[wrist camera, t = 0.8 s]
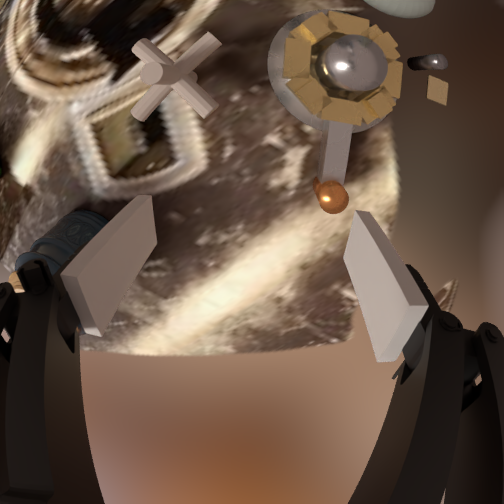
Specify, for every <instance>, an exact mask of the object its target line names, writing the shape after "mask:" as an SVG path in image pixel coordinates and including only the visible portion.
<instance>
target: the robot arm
mask: <svg viewBox="0 0 504 504" xmlns="http://www.w3.org/2000/svg"><path fill="white" fill-rule="evenodd" d="M156 244H157V238H156V231H155V223H154V214H153V205H152V195H137V196H136V197H135V198H134V199H133V200H132V201H131V202H130V203H129V204H127V205H126V206H125V207H124V208H123V209H122V210H121V211H120V212H119V213H118V214H117V215H116V216H115V217H114V218H113V219H112V220H111V221H110V222H109V223H108V224H107V225H106V226H104V227H103V228H102V229H101V230H100V232H99V233H98V234H97V235H96V236H95V237H94V238H93V239H92V240H89V241H87V242H86V243H84V244H82V245H81V246H79V247H78V249H77V250H76V251H75V252H74V253H73V255H71V256H70V257H69V258H68V261H67V260H66V261H65V263H64V264H63V265H62V266H61V267H60V268H59V269H58V270H57V272H56V273H55V274H54V275H53V276H52V274H51V272H50V269H49V266H48V264H47V261H46V260H45V259H42V258H36V259H33V260H30V261H28V262H26V263H25V264H23V265H22V266H21V267H20V268H19V269H18V271H17V272H16V274H17V276H18V278H19V280H20V283H21V285H22V287H23V289H24V291H25V292H19V293H16V292H15V290H14V288H13V286H12V284H11V283H9V282H5V283H1V284H0V504H105V503H104V500H103V497H102V493H101V490H100V487H99V483H98V479H97V476H96V472H95V468H94V463H93V459H92V455H91V450H90V445H89V440H88V434H87V428H86V422H85V414H84V407H83V397H82V386H81V372H80V345H79V334H78V331H77V329H76V328H77V327H78V325H79V324H80V322H81V324H82V326H83V328H84V330H85V332H86V333H88V334H92V335H96V336H100V337H102V335H103V334H104V332H105V330H106V328H107V326H108V324H109V322H110V321H111V319H112V317H113V315H114V313H115V312H116V310H117V308H118V306H119V305H120V303H121V301H122V299H123V298H124V296H125V294H126V293H127V291H128V289H129V288H130V286H131V284H132V283H133V281H134V279H135V278H136V276H137V274H138V273H139V271H140V270H141V268H142V266H143V265H144V263H145V262H146V260H147V258H148V257H149V255H150V254H151V252H152V251H153V249H154V248H155V246H156ZM343 258H344V261H345V264H346V267H347V269H348V272H349V275H350V278H351V280H352V283H353V286H354V289H355V292H356V295H357V298H358V301H359V304H360V307H361V310H362V313H363V316H364V319H365V323H366V326H367V329H368V332H369V335H370V339H371V342H372V346H373V349H374V353H375V356H376V360H377V362H390V361H396V359H397V358H398V356H399V355H400V353H401V352H402V351H403V354H404V357H405V360H404V361H403V363H402V364H401V366H400V367H399V368H398V370H397V371H396V372H395V374H394V375H393V377H392V379H395V378H396V377H397V375H398V378H397V382H396V385H395V389H394V392H393V396H392V399H391V402H390V406H389V409H388V412H387V415H386V418H385V421H384V423H383V426H382V429H381V432H380V434H379V437H378V440H377V442H376V445H375V447H374V450H373V452H372V454H371V457H370V459H369V461H368V464H367V466H366V468H365V471H364V473H363V475H362V477H361V479H360V481H359V483H358V485H357V487H356V489H355V491H354V493H353V495H352V497H351V499H350V500H349V502H348V504H440V503H441V500H442V497H443V494H444V491H445V499H444V504H504V337H503V335H502V333H501V332H500V330H499V329H498V328H497V327H496V326H495V325H493V324H491V323H488V322H483V323H482V324H481V325H480V326H479V328H478V329H477V330H476V332H474V331H471V330H467V329H463V326H462V324H461V322H460V320H459V319H457V317H455V316H454V315H453V314H451V313H449V312H446V311H441V309H440V307H439V305H438V303H437V302H436V300H435V298H434V297H433V295H432V293H431V292H430V290H429V289H428V287H427V285H426V283H425V282H424V280H423V279H422V277H421V276H420V274H419V272H418V271H417V270H415V269H414V268H413V267H412V266H411V265H408V264H404V262H403V261H402V259H401V257H400V256H399V254H398V253H397V251H396V250H395V248H394V247H393V245H392V244H391V242H390V241H389V239H388V238H387V236H386V235H385V233H384V232H383V230H382V229H381V228H380V226H379V225H378V223H377V222H376V220H375V219H374V218H373V216H372V215H371V213H370V212H366V211H358V210H355V213H354V217H353V222H352V226H351V230H350V234H349V238H348V242H347V246H346V250H345V254H344V257H343ZM3 329H4V330H5V331H6V333H7V334H8V336H9V337H10V339H9V341H8V342H6V341H5V340H4V338H3V337H2V336H1V333H2V331H3ZM480 374H481V378H482V381H481V382H480V383H479V384H478V385H477V386H476V384H475V379H476V378H477V377H478V376H479V375H480ZM445 488H446V490H445Z"/></svg>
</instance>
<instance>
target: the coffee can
mask: <svg viewBox="0 0 504 504" xmlns="http://www.w3.org/2000/svg"><path fill="white" fill-rule="evenodd" d="M9 1H10V0H0V15H1V13H2V12H3V11H4V9H5V7H6V6H7V4H8V2H9Z"/></svg>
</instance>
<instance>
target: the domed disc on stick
mask: <svg viewBox="0 0 504 504" xmlns="http://www.w3.org/2000/svg"><path fill="white" fill-rule="evenodd" d="M352 34H355V35H361V36H364V37H367V38H369V39H371V40H372V41H374V42H375V43H376V44H377V45H378V46H379V47H380V48H381V49H382V51H383V52H384V54H385V56H386V59H387V63H388V72H387V76H386V78H385V80H384V81H383V83H382V84H381V85H379V86H378V87H376V88H374V89H372V90H366V91H364V92H363V93H361V94H360V95H358V96H357V97H356V98H354V99H353V100H351V101H349V100H344V99H338V98H333V97H329V96H328V95H327V94H326V93H327V92H326V91H325V89H324V88H323V87H322V86H321V85H320V83H319V82H318V81H317V80H316V79H315V78H313V77H312V76H311V75H310V74H309V71H310V57H311V48H312V47H314V46H315V45H317V44H318V43H320V42H321V41H323V40H324V39H326V38H327V37H329V38H335V39H339V38H341V37H343V36H346V35H352ZM397 46H398V44H397V43H396V42H395V41H394V39H393V38H392V36H391V35H390V34H389V33H388V32H385V33H383V32H382V31H381V30H380V29H379V28H378V26H377V25H376V24H375V25H374V26H372V27H370V28H369V20H367V19H364V18H360V17H356V16H352V15H348V14H343V13H339V12H334V11H328V12H327V14H326V15H325V14H324V13H323V12H320V13H318V14H317V15H316V14H315V15H313V16H312V17H310V18H309V19H307V20H305V21H304V22H302V23H301V25H299V26H298V27H296V28H295V29H293V30H292V31H290V32H289V35H288V38H286V40H285V43H284V58H283V73H282V78H284V79H291V80H290V81H288V82H287V83H286V84H285V86H286V87H287V88H288V89H289V90H290V91H291V92H292V93H293V95H294V96H295V97H296V98H297V99H298V100H299V101H300V102H301V104H302V105H303V106H304V107H305V108H306V109H307V111H308V112H309V113H310V114H312V115H315V114H316V117H318V118H320V119H324V122H323V131H322V140H321V148H320V156H319V163H318V171H317V176H316V177H315V179H314V181H313V189H314V192H315V194H316V196H317V199H318V201H319V203H320V206H321V208H322V209H323V210H324V211H325V212H327V213H330V214H337V213H340V212H342V211H343V210H344V209H345V208H346V207H347V205H348V202H349V196H348V193H347V192H346V190H345V189H344V187H343V185H344V179H345V174H346V168H347V161H348V155H349V149H350V142H351V135H352V127H353V125H358V126H361V122H362V123H365V124H367V125H368V124H369V123H371V122H372V121H373V120H375V119H376V118H379V119H381V118H382V117H384V116H385V115H387V114H388V113H390V112H391V111H392V110H393V109H392V107H393V106H395V105H396V103H395V101H394V99H393V98H398V99H399V98H400V91H401V81H402V69H403V63H402V62H398V61H396V59H397V58H399V57H400V54H399V53H398V52H397V51H396V49H395V47H397Z"/></svg>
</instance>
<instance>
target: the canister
mask: <svg viewBox="0 0 504 504" xmlns="http://www.w3.org/2000/svg"><path fill="white" fill-rule="evenodd" d="M108 223H109V221H108V220H106V219H105V218H104V217H102V216H101V215H99V214H97V213H95V212H92V211H88V210H77V211H74V212H72V213H69V214H67V215H65V216H64V217H63V218H62V219H60V220H59V221H58V222H57V224H56V225H55V226H54V227H53V228H52V229H50V230H49V231H48V232H47V233H46V234H45V235H44V236H42V237H41V238H39V239H38V240H36V241H35V242H34V243H33V245H32V246H31V248H30V252H25V253H23V254H21V255H20V256H19V257H18V258H17V260H16V263H15V271H14V272H13V273H12V274H11V275H10V277H9V283H11V284H12V286H13V288H14V290H15V292H16V293H19V292H25V291H24V289H23V287H22V285H21V283H20V280H19V278H18V276H17V274H16V272H17V271H18V269H19V268H20V267H21V266H22V265H23V264H25V263H26V262H28V261H30V260H33V259H36V258H42V259H45V260H46V261H47V264H48V266H49V269H50V272H51V274H52V276H53V275H54V274H55V273H56V272H57V270H58V269H59V268H60V267H61V266H62V265H63V264H64V263H65V261H66V260H67V261H68V258H69V257H70V256H71V255H73V253H74V252H75V251H76V250H77V249H78V247H79V246H81V245H82V244H84V243H86V242H87V241H89V240H92V239H93V238H94V237H95V236H96V235H97V234H98V233H99V232H100V230H101V229H102V228H103V227H104V226H106V225H107V224H108ZM76 329H77V331H78V334H79V336H81V335H85V334H86V332H85V330H84V328H83V326H82V324H81V322H80V324H79V325H78V327H77V328H76Z"/></svg>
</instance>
